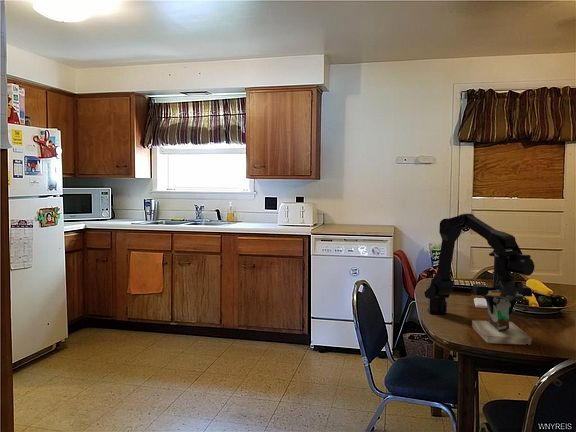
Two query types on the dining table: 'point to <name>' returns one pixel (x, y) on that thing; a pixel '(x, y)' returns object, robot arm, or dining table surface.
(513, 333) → the pale grey slab
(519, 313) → the dining table surface
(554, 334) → the dining table surface
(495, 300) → the food container
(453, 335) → the dining table surface
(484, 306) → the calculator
